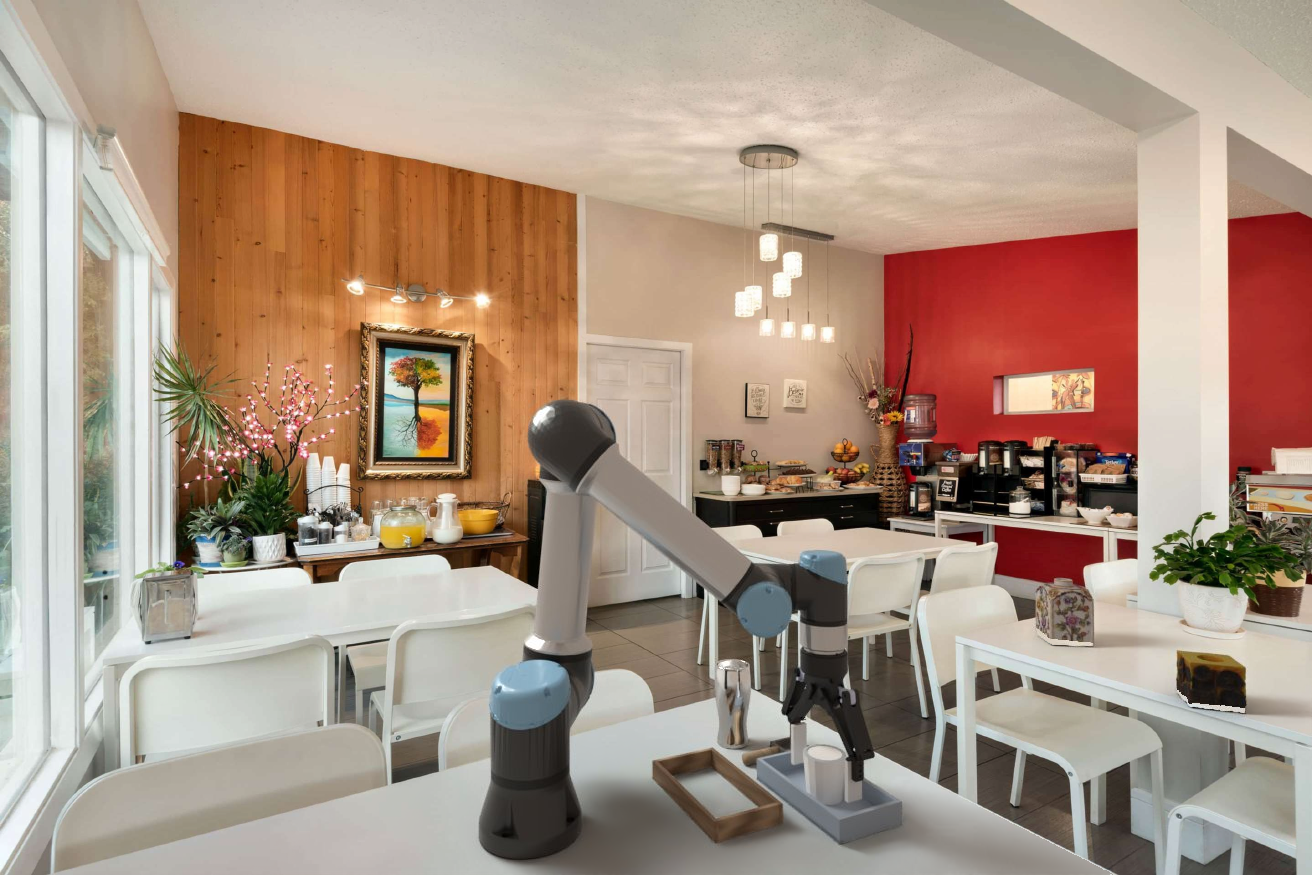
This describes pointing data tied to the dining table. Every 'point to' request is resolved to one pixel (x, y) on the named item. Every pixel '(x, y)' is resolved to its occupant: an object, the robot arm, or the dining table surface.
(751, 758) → the hand scoop
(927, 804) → the dining table surface
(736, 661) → the silver metal tumbler
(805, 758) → the white faceted cup
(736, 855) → the dining table surface
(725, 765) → the walnut frame
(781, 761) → the bin
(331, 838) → the dining table surface
